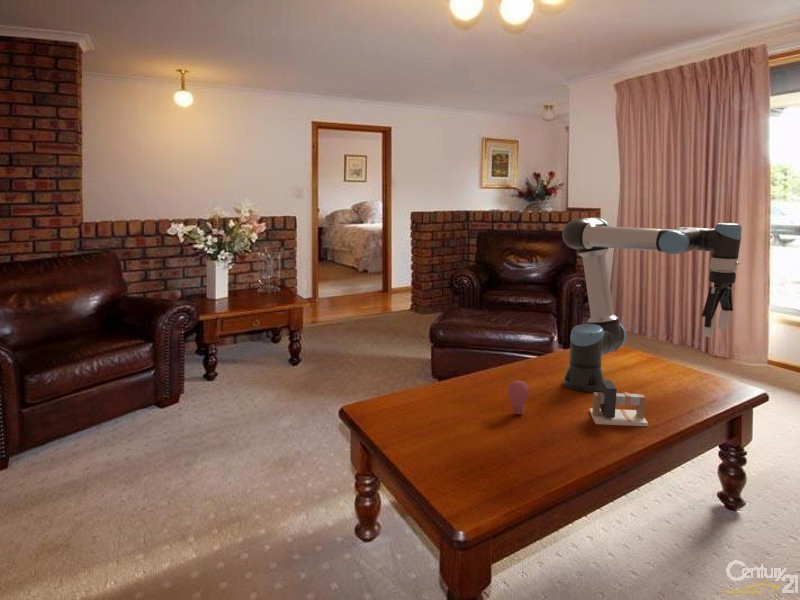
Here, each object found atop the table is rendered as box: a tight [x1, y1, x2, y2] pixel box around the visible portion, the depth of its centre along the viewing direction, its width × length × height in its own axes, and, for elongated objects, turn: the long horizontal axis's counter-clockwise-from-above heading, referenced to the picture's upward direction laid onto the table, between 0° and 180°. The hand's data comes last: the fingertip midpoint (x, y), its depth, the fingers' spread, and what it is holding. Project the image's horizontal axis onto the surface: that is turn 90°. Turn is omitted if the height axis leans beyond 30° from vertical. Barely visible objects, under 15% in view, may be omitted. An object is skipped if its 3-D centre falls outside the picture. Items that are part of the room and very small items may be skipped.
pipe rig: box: [589, 391, 649, 427], centre depth 174 cm, size 16×10×9 cm, turn 82°
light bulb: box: [507, 379, 530, 415], centre depth 179 cm, size 7×7×12 cm
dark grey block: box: [600, 379, 618, 418], centre depth 174 cm, size 3×8×10 cm, turn 172°
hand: (715, 332), depth 178 cm, fingers open, 13 cm apart
